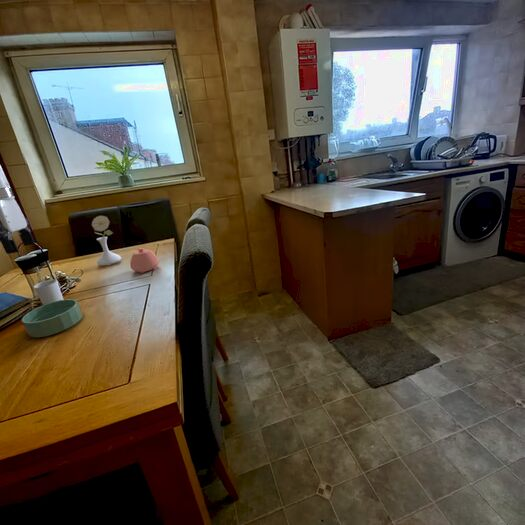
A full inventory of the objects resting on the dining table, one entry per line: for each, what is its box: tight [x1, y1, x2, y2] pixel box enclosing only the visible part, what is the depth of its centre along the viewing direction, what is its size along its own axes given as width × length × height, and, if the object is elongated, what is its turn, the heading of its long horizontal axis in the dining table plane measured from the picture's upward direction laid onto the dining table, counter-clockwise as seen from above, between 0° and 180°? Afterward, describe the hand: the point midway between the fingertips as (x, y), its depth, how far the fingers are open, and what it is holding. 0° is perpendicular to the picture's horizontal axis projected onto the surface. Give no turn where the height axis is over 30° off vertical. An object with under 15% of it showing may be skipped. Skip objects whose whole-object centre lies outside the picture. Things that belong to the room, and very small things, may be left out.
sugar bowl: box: [129, 247, 160, 274], centre depth 127 cm, size 12×14×10 cm
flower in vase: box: [91, 215, 122, 267], centre depth 140 cm, size 13×11×25 cm
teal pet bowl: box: [21, 298, 83, 338], centre depth 87 cm, size 14×14×6 cm
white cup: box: [33, 279, 65, 306], centre depth 98 cm, size 7×7×10 cm
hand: (21, 248), depth 91 cm, fingers open, 9 cm apart
